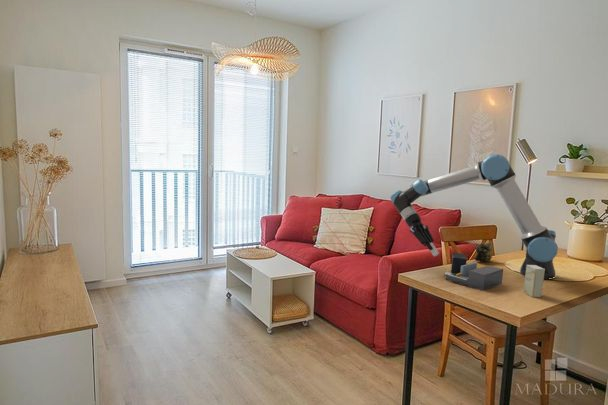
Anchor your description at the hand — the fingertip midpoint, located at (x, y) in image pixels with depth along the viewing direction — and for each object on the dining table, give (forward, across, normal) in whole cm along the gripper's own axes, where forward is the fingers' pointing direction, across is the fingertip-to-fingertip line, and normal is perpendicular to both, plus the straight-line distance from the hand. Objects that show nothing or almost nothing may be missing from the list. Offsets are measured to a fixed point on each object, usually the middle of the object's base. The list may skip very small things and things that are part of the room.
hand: (436, 254), depth 201 cm
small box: (+14, -1, +2) cm, 14 cm away
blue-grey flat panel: (+17, +2, +7) cm, 19 cm away
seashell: (+8, -41, -5) cm, 42 cm away
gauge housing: (+20, 0, +8) cm, 21 cm away
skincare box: (+37, -5, +24) cm, 45 cm away
